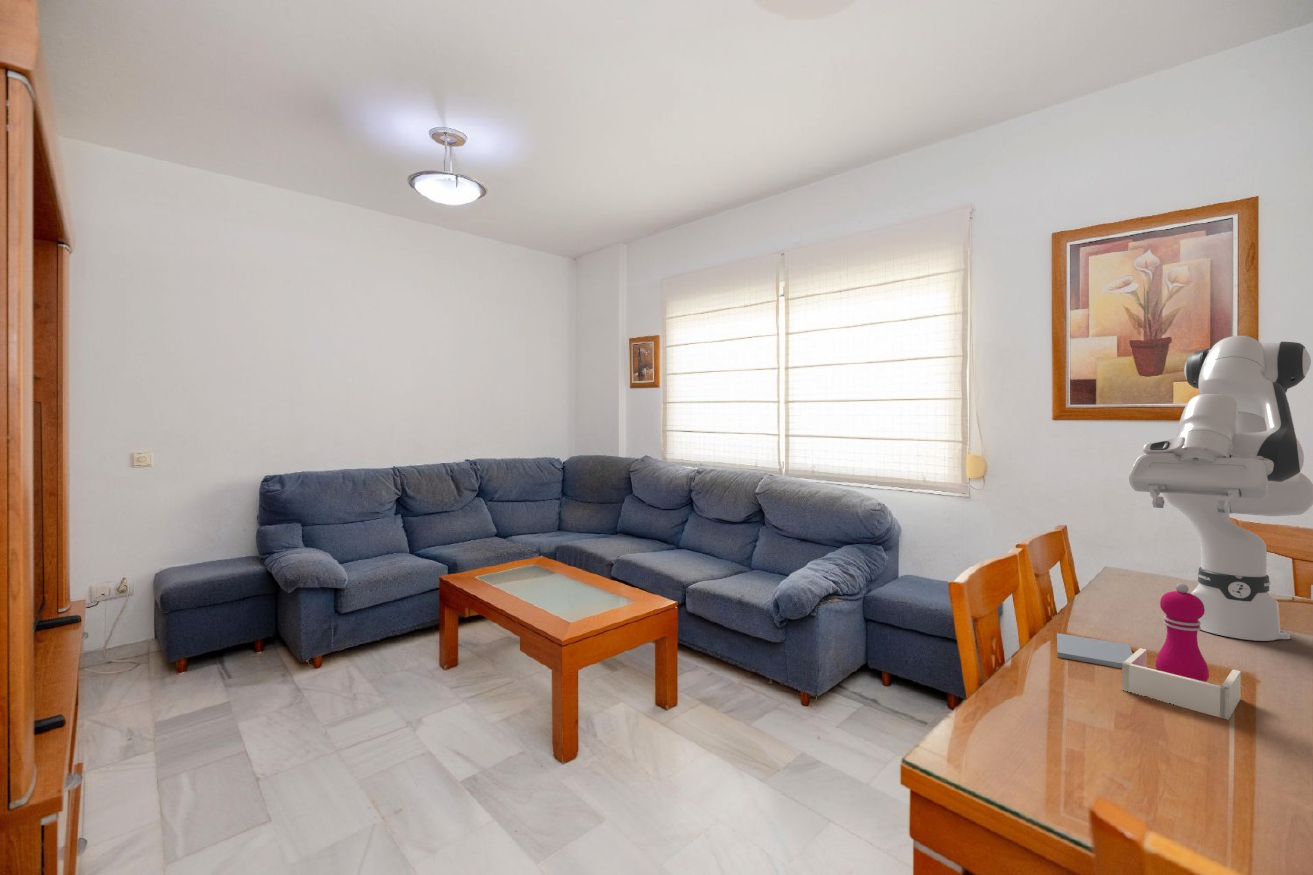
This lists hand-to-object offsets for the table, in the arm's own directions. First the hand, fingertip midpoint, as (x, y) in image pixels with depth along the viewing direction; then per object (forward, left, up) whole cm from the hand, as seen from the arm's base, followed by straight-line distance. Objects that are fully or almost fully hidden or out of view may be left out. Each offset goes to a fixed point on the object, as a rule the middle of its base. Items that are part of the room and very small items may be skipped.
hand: (1189, 508), depth 112 cm
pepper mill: (+10, -2, -33) cm, 34 cm away
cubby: (+10, -2, -33) cm, 34 cm away
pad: (-5, -14, -33) cm, 36 cm away
